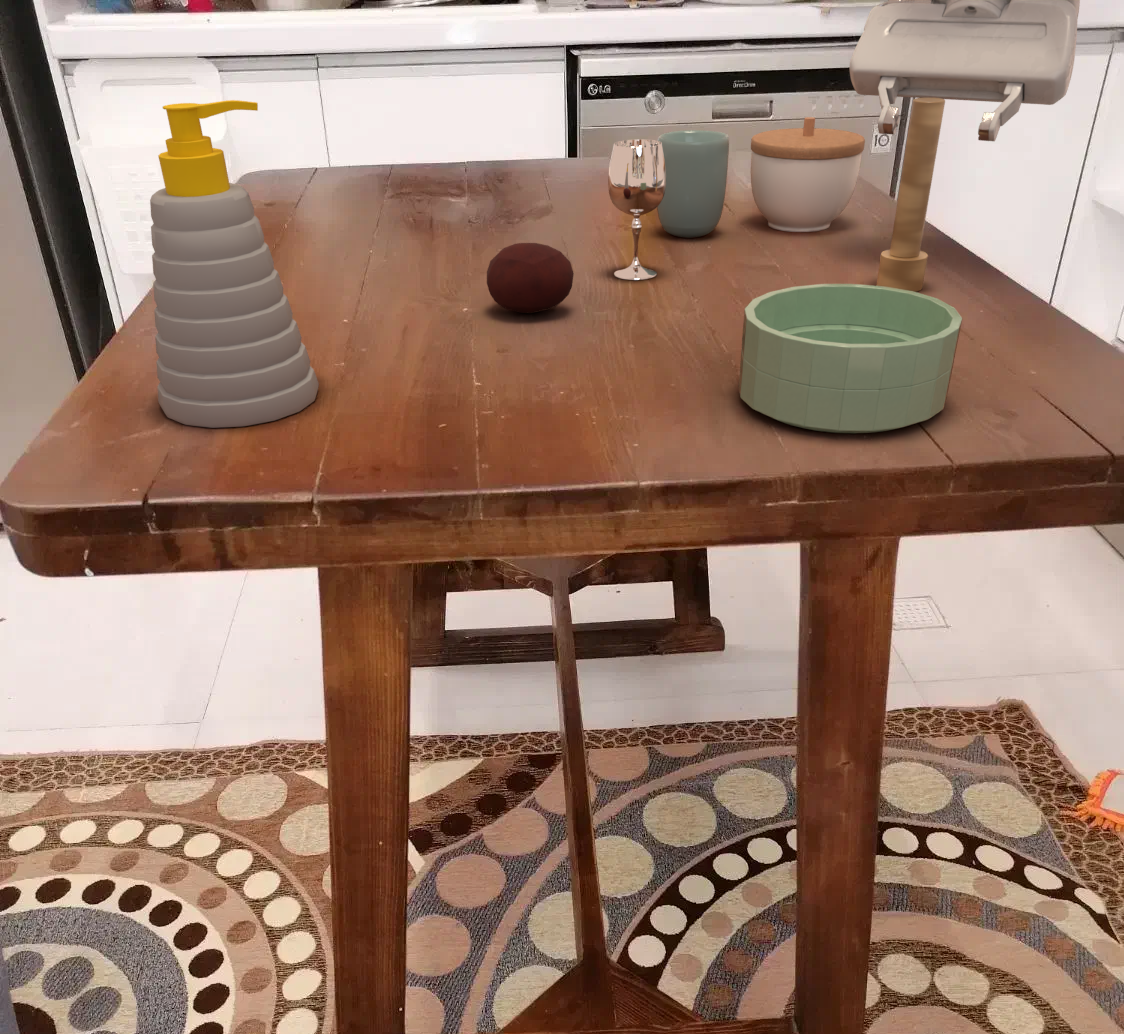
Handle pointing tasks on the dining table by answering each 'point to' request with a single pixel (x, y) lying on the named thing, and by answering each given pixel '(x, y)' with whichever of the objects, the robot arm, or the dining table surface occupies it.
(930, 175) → the muddler
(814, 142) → the lidded bowl
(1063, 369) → the dining table surface
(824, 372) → the mixing bowl
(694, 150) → the cup
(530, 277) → the potato
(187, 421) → the soap bottle
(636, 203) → the wineglass
